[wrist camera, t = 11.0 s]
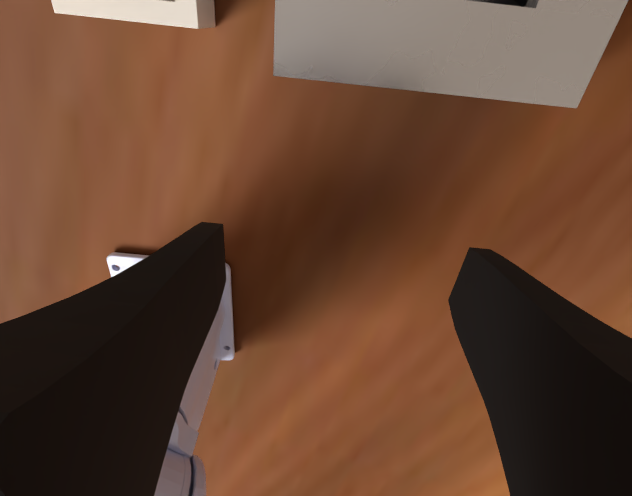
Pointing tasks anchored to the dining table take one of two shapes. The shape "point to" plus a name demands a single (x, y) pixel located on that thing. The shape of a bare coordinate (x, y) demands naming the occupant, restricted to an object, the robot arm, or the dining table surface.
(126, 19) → the holder
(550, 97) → the grey square frame block
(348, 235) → the dining table surface
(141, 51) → the dining table surface
